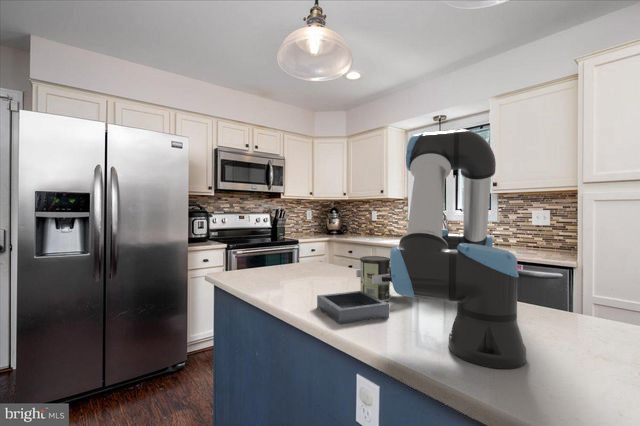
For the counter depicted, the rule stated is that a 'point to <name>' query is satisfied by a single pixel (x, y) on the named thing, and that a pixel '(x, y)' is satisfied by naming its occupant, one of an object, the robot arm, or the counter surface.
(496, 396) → the counter surface
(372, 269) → the coffee can
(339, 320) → the tray
